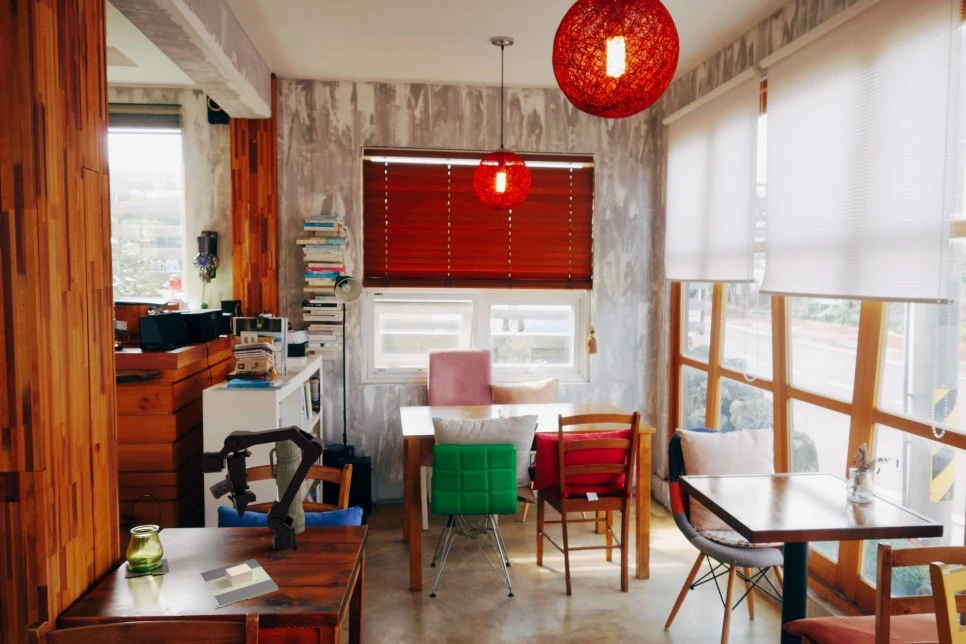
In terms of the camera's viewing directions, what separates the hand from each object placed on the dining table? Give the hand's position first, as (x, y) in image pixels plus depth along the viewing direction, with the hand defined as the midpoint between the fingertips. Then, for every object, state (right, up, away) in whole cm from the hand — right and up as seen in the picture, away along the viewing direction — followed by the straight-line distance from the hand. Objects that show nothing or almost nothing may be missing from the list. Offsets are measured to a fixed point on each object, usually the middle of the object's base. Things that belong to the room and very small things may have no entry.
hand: (240, 517), depth 220 cm
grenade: (+12, -10, +18) cm, 24 cm away
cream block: (+7, -13, -20) cm, 25 cm away
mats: (+7, -14, -20) cm, 25 cm away
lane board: (+7, -14, -20) cm, 25 cm away
